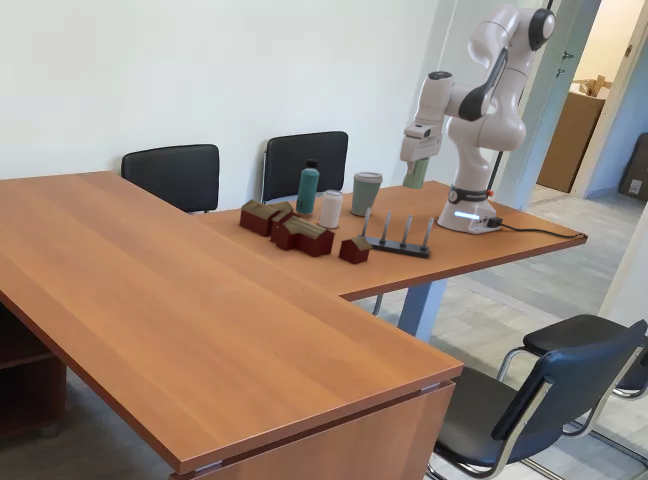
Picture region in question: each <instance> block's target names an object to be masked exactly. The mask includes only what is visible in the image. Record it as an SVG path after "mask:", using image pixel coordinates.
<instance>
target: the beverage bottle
mask: <svg viewBox="0 0 648 480" xmlns="http://www.w3.org/2000/svg"><path fill="white" fill-rule="evenodd" d="M318 166H319V161H318V160H317V159H313V158H312V159H311V158H309V159H307V160H306V162H305V167H307V168H305V169H303V170H302V171H301V176H300V180H299V187H298V192H297V193H298V194H297V197H296V203H295V212H296V213H297V214H301V215H311V214H313V212H314V208H315V201H316V196H317V189H318V183H319V177H320V172H319V171H318V170H317V169H316V168H319V167H318Z"/></svg>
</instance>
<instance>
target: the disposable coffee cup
mask: <svg viewBox="0 0 648 480" xmlns="http://www.w3.org/2000/svg"><path fill="white" fill-rule="evenodd" d="M383 181H384V178H383V173H380V172H375V171H358V172H356V173H354V176H353V185H352V187H353V188H352V199H351V214H353V215H357V216H360V217H361V216H363V217H365V216H366V212H367V209H368V208H370V209H371V210H372V208H373V206H374V203H375V201H376V198H377V195H378V193H379V190H380V188H381V185H382V183H383Z"/></svg>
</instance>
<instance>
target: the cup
mask: <svg viewBox="0 0 648 480" xmlns="http://www.w3.org/2000/svg"><path fill="white" fill-rule="evenodd" d="M428 161H429V162H430V160H429V159H427V158H424V159H420V160H417V161H416V162H415V164H414V169H415V171H414V173H413V174H411V175H410V174H407V169H408V167H407V166H406V168H405V171H404V177H403V180H402V184H401V185H402V186H403V187H404V188H407V189H413V190H422V188H423V185H424V181H425V177H426V174H427V169H428V165H429V162H428Z"/></svg>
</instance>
